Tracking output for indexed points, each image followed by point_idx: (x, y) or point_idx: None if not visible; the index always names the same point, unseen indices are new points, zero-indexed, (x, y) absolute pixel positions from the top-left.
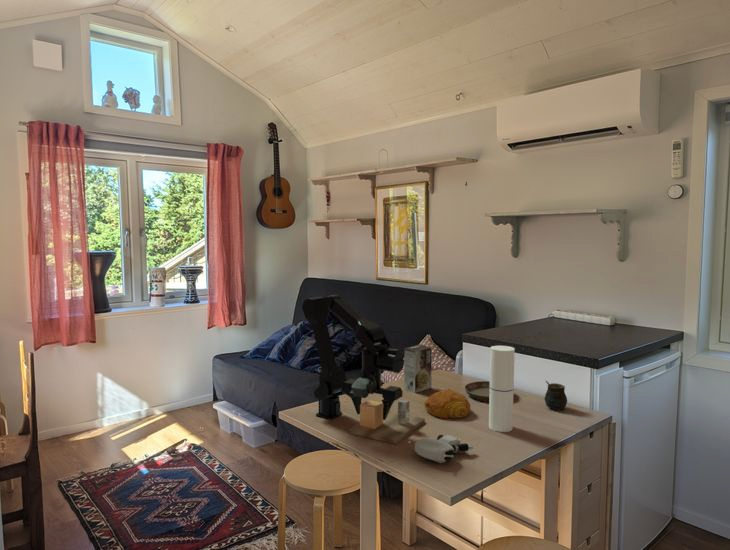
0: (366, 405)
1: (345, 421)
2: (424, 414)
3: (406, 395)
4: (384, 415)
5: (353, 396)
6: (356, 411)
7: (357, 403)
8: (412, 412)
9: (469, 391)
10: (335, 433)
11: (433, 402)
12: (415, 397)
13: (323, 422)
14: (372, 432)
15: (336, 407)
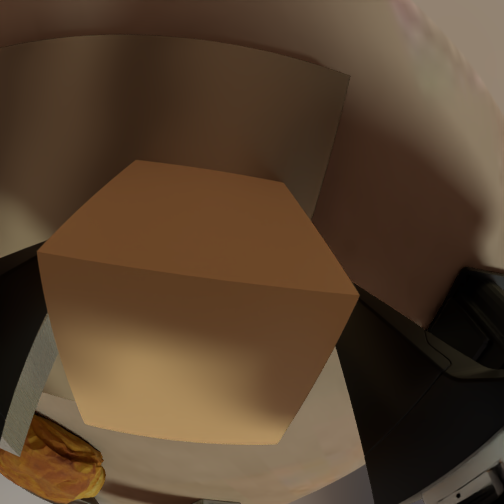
0: (229, 298)
1: (398, 271)
2: (76, 425)
3: (216, 491)
4: (20, 251)
5: (501, 380)
6: (364, 291)
7: (390, 353)
8: (122, 434)
9: (94, 498)
10: (415, 63)
11: (39, 460)
12: (185, 489)
13: (489, 217)
14: (124, 77)
15: (471, 330)
